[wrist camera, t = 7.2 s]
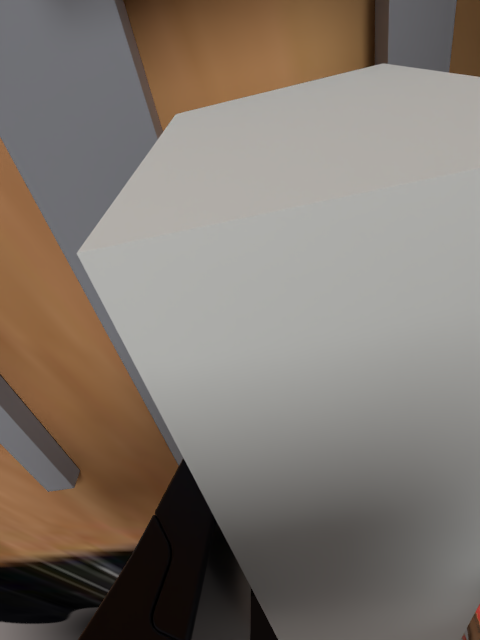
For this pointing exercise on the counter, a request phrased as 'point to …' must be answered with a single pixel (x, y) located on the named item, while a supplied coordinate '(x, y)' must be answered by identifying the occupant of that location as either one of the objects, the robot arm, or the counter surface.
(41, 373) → the counter surface
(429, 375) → the white rectangular prism
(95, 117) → the grey long bars
